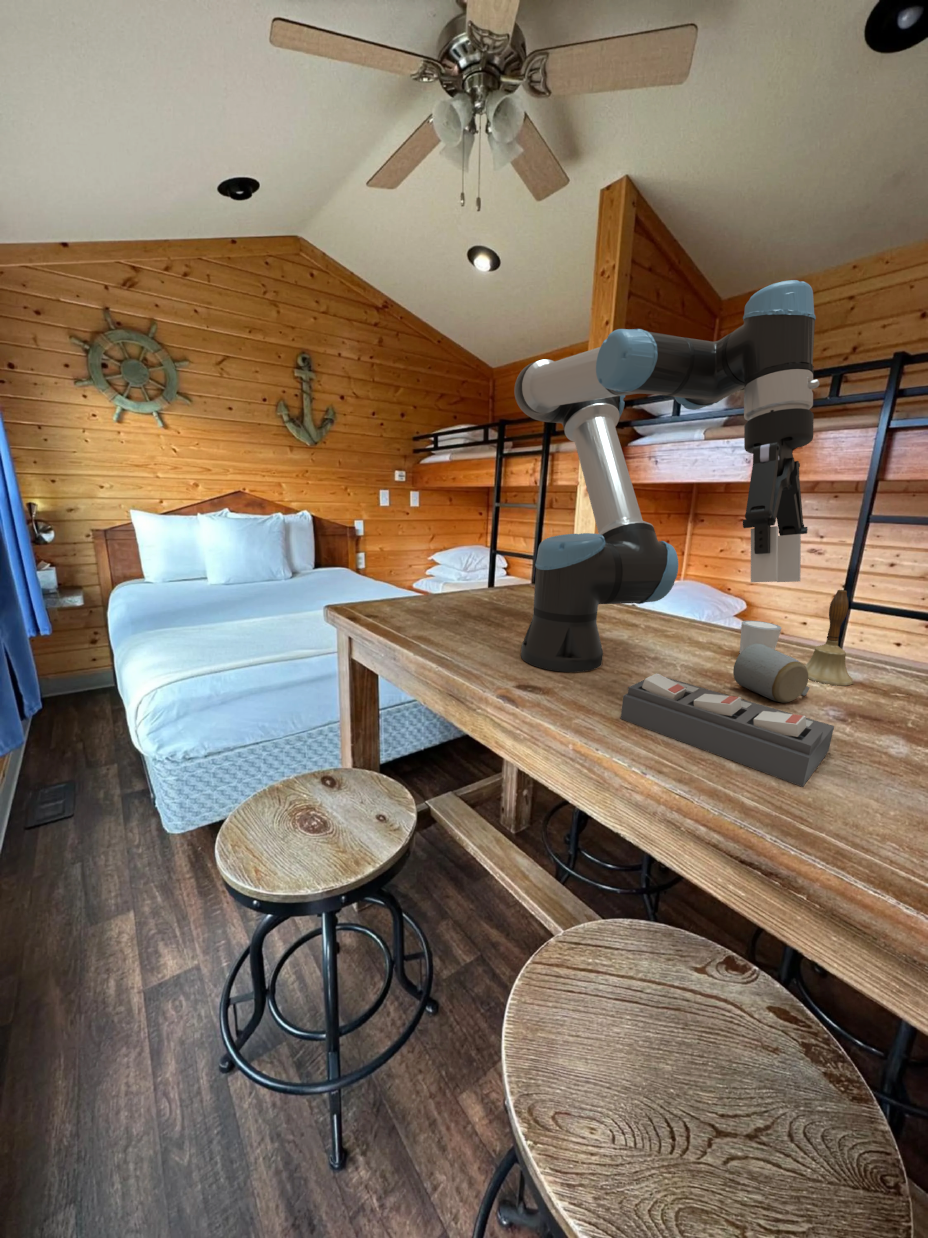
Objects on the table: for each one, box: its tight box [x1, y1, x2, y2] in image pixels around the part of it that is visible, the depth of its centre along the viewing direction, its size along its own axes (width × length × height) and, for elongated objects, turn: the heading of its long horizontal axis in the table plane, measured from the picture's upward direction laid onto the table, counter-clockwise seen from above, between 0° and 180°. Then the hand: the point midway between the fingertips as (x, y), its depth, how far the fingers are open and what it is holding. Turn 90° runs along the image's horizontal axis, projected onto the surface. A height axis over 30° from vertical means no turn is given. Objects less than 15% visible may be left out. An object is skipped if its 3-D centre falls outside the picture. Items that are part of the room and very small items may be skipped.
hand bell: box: [804, 589, 854, 687], centre depth 88 cm, size 8×8×16 cm
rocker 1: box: [642, 673, 687, 701], centre depth 68 cm, size 4×4×2 cm
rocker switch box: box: [620, 676, 835, 788], centre depth 66 cm, size 22×12×5 cm, turn 43°
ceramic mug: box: [733, 644, 810, 703], centre depth 80 cm, size 11×8×8 cm
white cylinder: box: [739, 620, 782, 653], centre depth 98 cm, size 7×7×7 cm
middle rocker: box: [694, 694, 742, 716], centre depth 63 cm, size 4×4×2 cm
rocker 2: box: [753, 711, 807, 737], centre depth 58 cm, size 4×4×2 cm
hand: (777, 582), depth 65 cm, fingers open, 13 cm apart
